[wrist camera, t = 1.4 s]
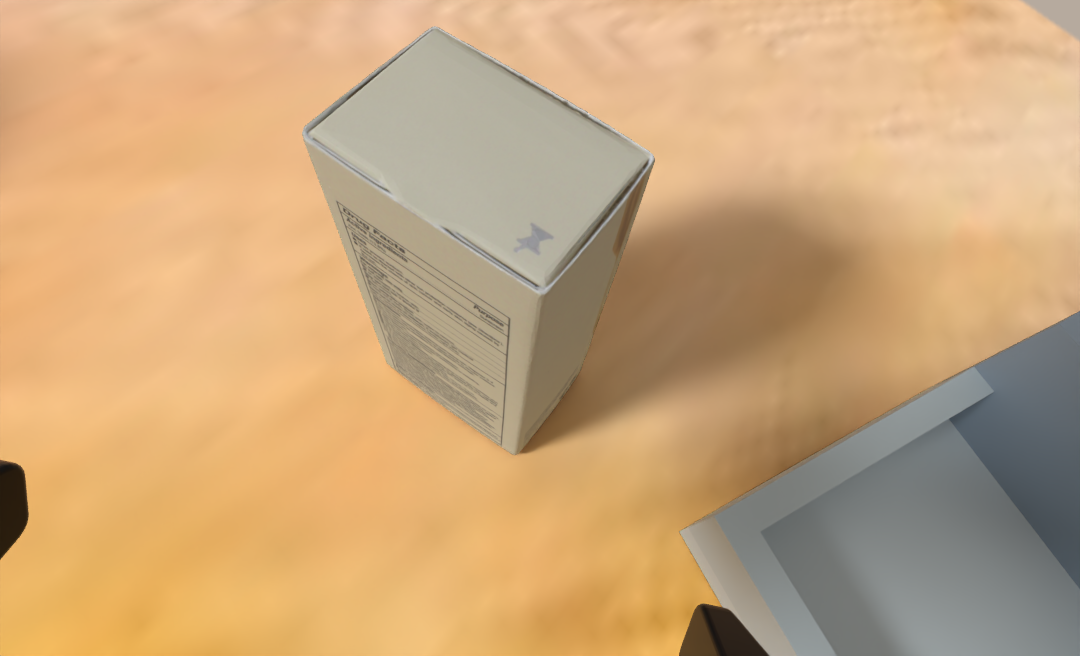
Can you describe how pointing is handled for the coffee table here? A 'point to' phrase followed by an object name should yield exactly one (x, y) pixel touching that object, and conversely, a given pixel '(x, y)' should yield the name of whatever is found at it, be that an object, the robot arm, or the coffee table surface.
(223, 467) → the coffee table surface
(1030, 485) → the seat tray
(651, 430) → the coffee table surface
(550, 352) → the skincare box
